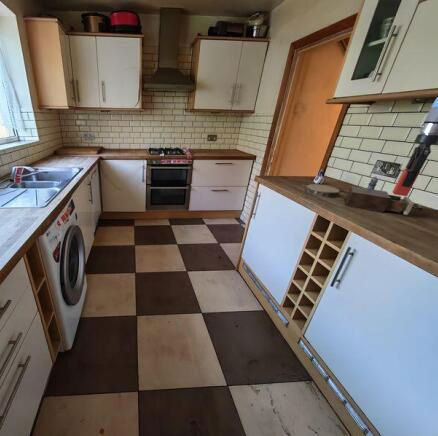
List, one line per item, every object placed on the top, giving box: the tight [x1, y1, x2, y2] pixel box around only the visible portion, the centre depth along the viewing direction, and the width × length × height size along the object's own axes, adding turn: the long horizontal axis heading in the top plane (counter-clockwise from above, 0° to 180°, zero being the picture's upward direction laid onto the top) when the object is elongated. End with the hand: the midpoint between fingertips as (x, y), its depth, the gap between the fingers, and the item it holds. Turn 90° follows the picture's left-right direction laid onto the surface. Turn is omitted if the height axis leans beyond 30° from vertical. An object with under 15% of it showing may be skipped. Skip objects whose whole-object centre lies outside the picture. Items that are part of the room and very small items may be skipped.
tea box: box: [392, 168, 421, 197], centre depth 110 cm, size 4×4×12 cm
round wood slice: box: [306, 183, 340, 198], centre depth 138 cm, size 16×16×3 cm
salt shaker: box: [366, 176, 379, 190], centre depth 133 cm, size 6×6×12 cm
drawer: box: [385, 194, 424, 216], centre depth 114 cm, size 18×12×6 cm
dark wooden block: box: [345, 185, 391, 213], centre depth 120 cm, size 15×14×8 cm
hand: (404, 185), depth 110 cm, fingers closed on tea box, 4 cm apart
